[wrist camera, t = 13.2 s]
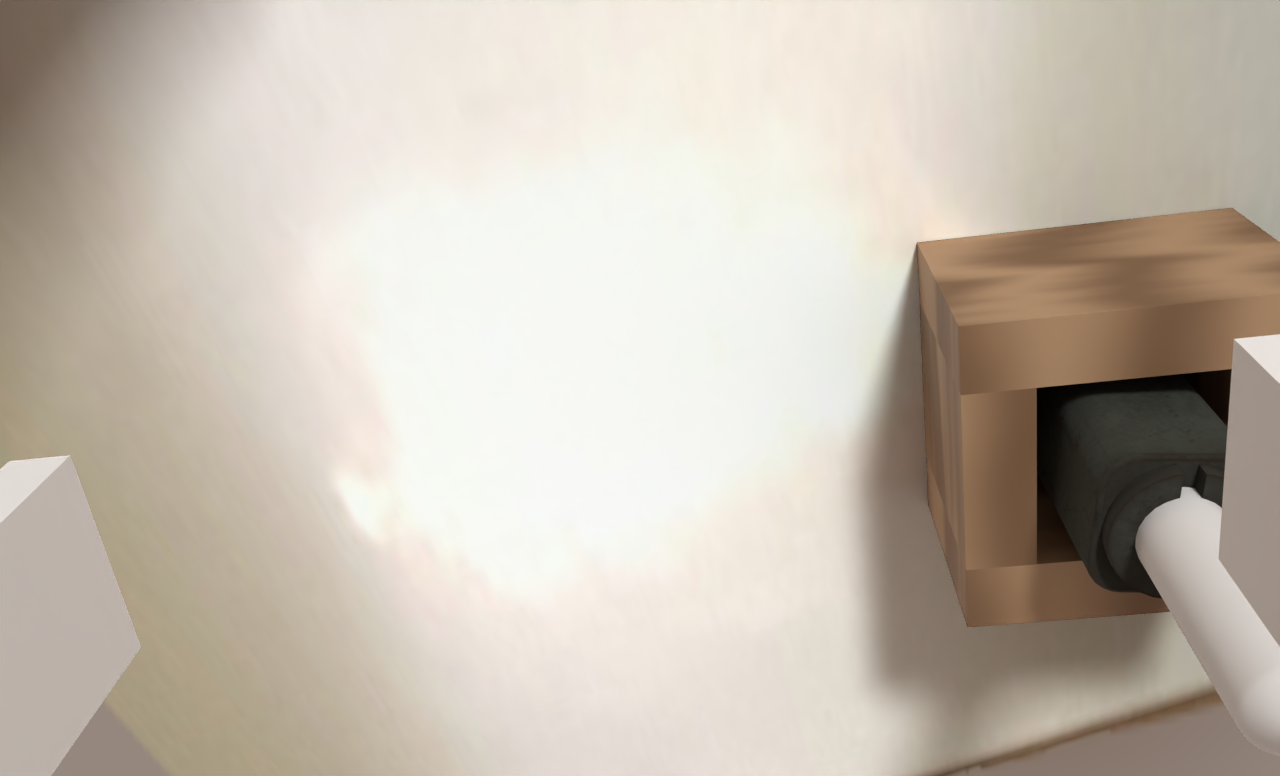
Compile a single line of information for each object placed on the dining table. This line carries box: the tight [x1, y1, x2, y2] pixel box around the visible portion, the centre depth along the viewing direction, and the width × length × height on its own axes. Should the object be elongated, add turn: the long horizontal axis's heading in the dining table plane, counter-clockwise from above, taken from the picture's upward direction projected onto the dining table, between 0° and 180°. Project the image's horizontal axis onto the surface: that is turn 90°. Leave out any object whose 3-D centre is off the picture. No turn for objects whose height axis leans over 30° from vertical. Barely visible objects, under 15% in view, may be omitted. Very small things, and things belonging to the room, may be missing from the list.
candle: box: [1037, 374, 1280, 757], centre depth 39 cm, size 5×5×25 cm
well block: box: [917, 208, 1280, 627], centre depth 46 cm, size 12×12×9 cm
